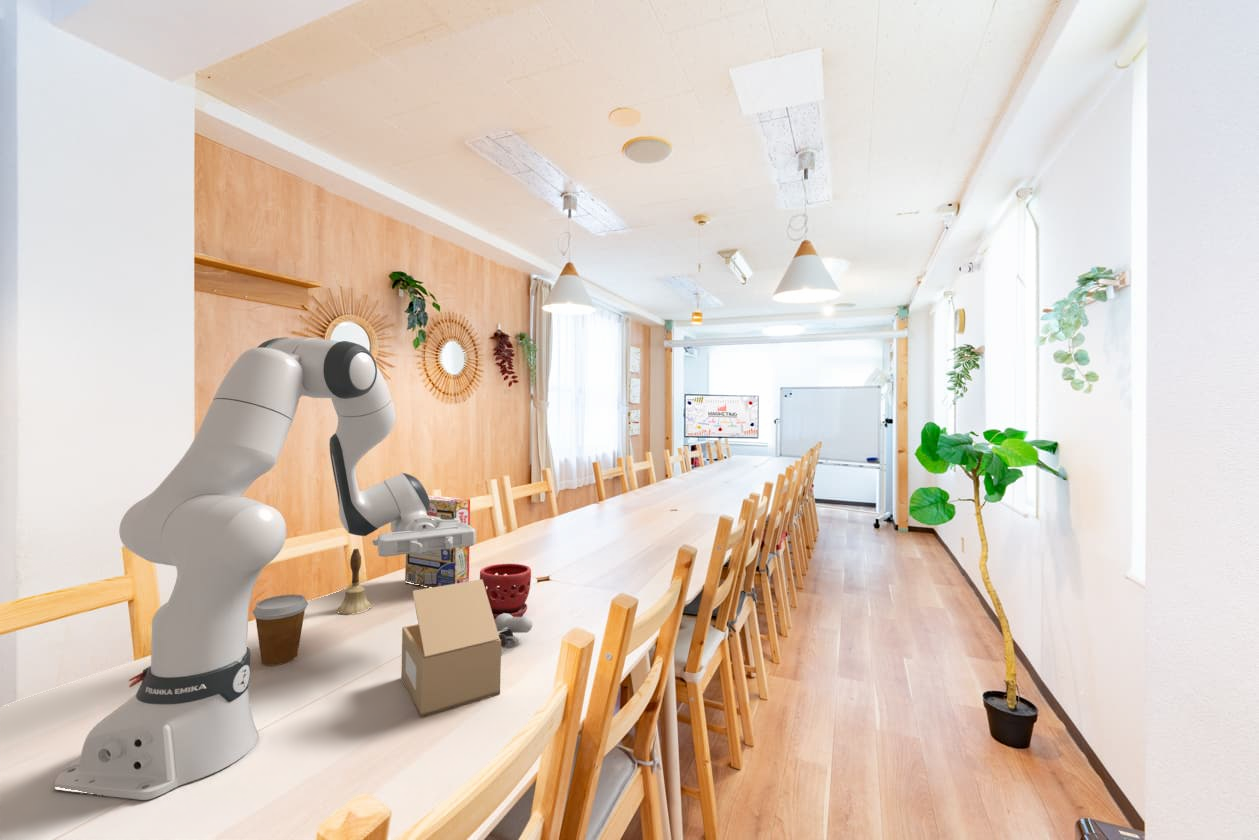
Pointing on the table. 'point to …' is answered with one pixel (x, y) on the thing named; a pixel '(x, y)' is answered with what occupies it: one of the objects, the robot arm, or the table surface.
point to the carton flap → (454, 617)
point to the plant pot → (507, 588)
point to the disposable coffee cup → (279, 627)
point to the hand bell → (354, 590)
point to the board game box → (442, 563)
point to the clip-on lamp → (511, 627)
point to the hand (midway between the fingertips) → (436, 547)
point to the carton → (448, 674)
